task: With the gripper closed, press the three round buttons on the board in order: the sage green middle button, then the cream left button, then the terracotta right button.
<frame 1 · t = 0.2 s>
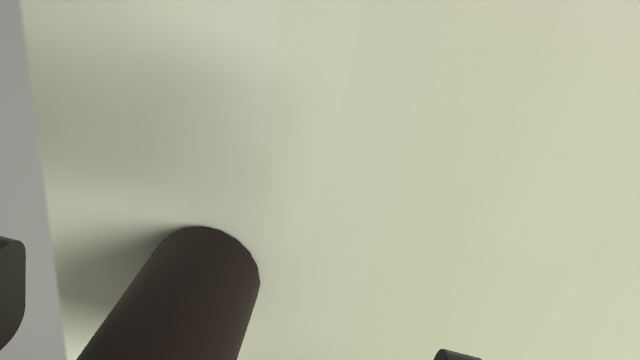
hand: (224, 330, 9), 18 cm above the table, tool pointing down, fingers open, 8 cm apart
bottle: (208, 270, 31), on the table
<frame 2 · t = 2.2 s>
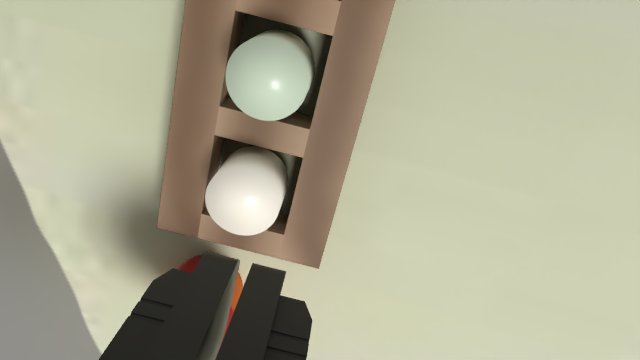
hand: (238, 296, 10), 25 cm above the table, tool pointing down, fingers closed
sage button: (272, 73, 30), point 4 cm above the table, slide at 0.0 cm
cream button: (249, 189, 33), point 4 cm above the table, slide at 0.0 cm
button board: (281, 64, 33), on the table
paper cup: (211, 283, 41), on the table
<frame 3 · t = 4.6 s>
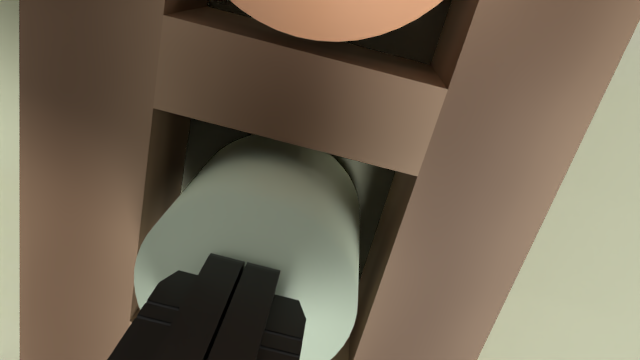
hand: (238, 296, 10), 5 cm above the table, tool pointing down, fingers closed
sage button: (262, 249, 12), point 3 cm above the table, slide at 0.8 cm, touching gripper
button board: (279, 203, 15), on the table
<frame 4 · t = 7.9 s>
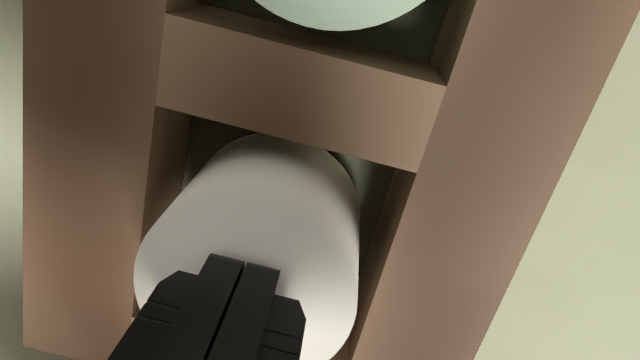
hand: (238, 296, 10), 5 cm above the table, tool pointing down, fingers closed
cream button: (262, 248, 12), point 3 cm above the table, slide at 0.7 cm, touching gripper
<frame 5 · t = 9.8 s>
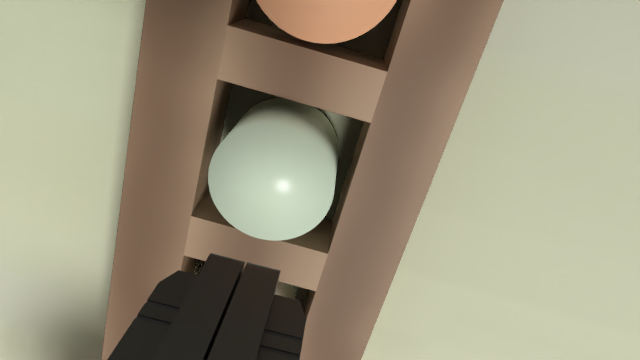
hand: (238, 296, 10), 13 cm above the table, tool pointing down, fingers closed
sage button: (278, 165, 20), point 2 cm above the table, slide at 1.2 cm
cream button: (239, 316, 24), point 2 cm above the table, slide at 1.2 cm
button board: (286, 147, 23), on the table
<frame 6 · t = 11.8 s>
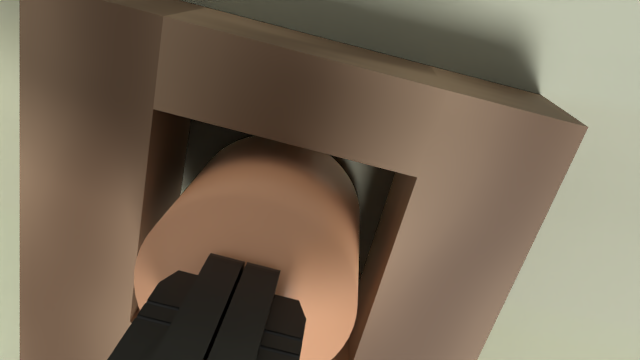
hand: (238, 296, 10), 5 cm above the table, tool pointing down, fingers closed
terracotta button: (262, 250, 12), point 3 cm above the table, slide at 0.8 cm, touching gripper
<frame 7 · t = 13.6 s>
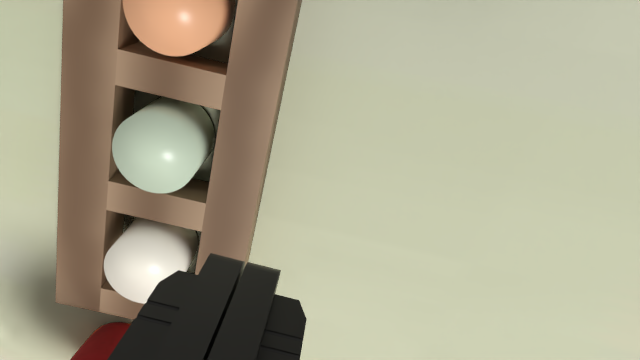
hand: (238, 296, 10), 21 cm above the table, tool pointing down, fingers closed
sage button: (166, 143, 30), point 2 cm above the table, slide at 1.2 cm
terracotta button: (182, 4, 26), point 2 cm above the table, slide at 1.2 cm
cream button: (153, 255, 33), point 2 cm above the table, slide at 1.2 cm
button board: (178, 131, 32), on the table
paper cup: (126, 349, 39), on the table
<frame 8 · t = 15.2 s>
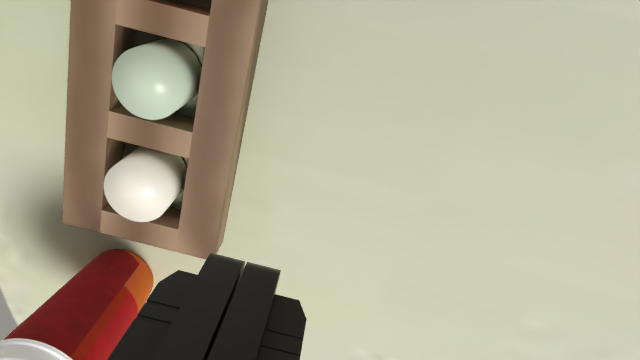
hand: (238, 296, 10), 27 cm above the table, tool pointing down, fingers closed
sage button: (159, 78, 34), point 2 cm above the table, slide at 1.2 cm
cream button: (147, 181, 37), point 2 cm above the table, slide at 1.2 cm
button board: (171, 72, 36), on the table
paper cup: (124, 275, 44), on the table
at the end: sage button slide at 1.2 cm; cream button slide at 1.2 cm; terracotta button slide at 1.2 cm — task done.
